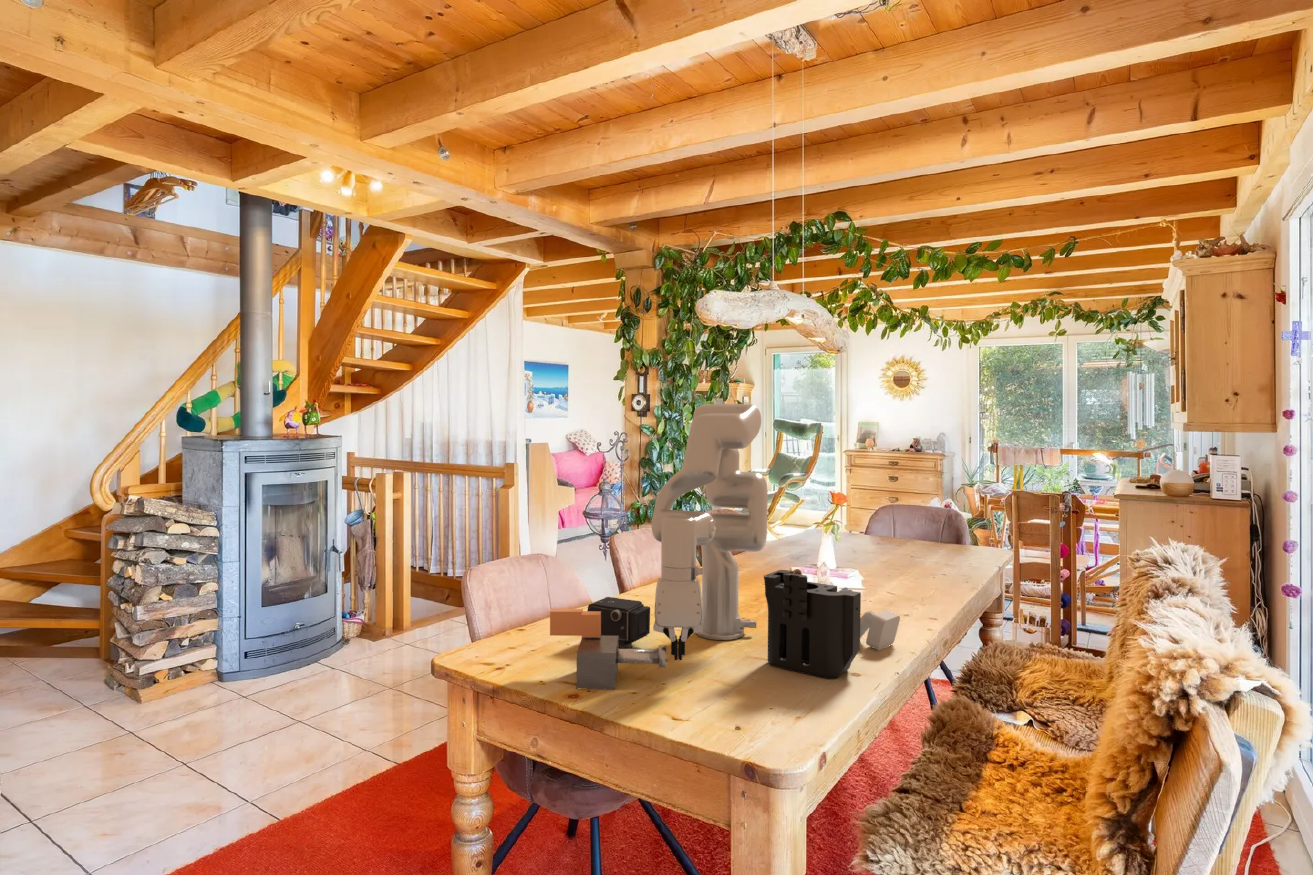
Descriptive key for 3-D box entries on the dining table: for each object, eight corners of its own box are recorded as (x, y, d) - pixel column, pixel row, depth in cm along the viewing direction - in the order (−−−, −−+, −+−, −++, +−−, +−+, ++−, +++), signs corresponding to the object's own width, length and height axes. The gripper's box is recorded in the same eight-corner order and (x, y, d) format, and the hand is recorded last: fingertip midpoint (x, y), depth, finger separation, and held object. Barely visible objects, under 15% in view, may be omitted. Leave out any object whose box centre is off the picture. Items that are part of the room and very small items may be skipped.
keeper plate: (600, 633, 164) (600, 608, 164) (599, 637, 161) (599, 612, 161) (551, 633, 164) (551, 608, 164) (549, 637, 161) (549, 611, 161)
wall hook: (856, 633, 191) (864, 597, 189) (891, 651, 184) (901, 614, 182) (839, 639, 185) (848, 603, 183) (875, 658, 178) (885, 621, 176)
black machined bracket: (780, 654, 176) (781, 562, 175) (864, 672, 163) (865, 573, 163) (756, 667, 166) (757, 570, 166) (843, 687, 154) (845, 583, 153)
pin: (666, 663, 160) (666, 642, 160) (666, 670, 156) (666, 649, 155) (594, 662, 160) (594, 641, 160) (592, 669, 156) (592, 648, 155)
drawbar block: (618, 669, 164) (618, 635, 164) (615, 689, 152) (615, 652, 152) (582, 669, 164) (582, 635, 164) (576, 688, 152) (576, 652, 152)
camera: (583, 650, 180) (636, 654, 173) (579, 604, 181) (632, 606, 174) (606, 639, 190) (657, 641, 183) (603, 595, 190) (653, 596, 183)
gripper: (712, 570, 161) (711, 652, 161) (644, 569, 161) (643, 652, 161) (714, 577, 154) (714, 664, 154) (643, 576, 153) (643, 663, 154)
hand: (678, 658), depth 158 cm, fingers closed
